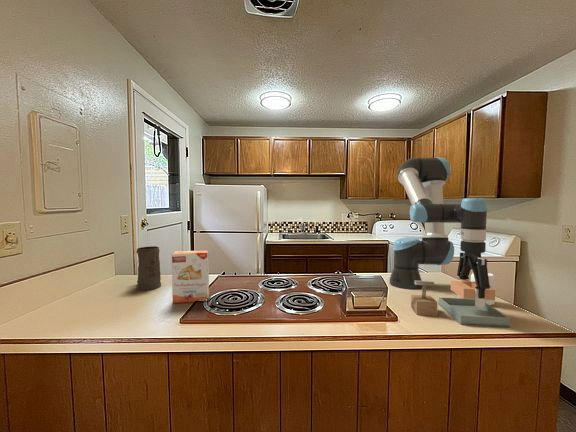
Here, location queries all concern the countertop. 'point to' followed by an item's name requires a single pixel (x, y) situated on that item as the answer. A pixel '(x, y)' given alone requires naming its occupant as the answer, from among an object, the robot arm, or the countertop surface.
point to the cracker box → (190, 276)
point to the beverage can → (491, 283)
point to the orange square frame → (470, 290)
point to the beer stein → (148, 268)
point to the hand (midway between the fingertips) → (471, 301)
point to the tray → (473, 313)
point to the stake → (423, 301)
